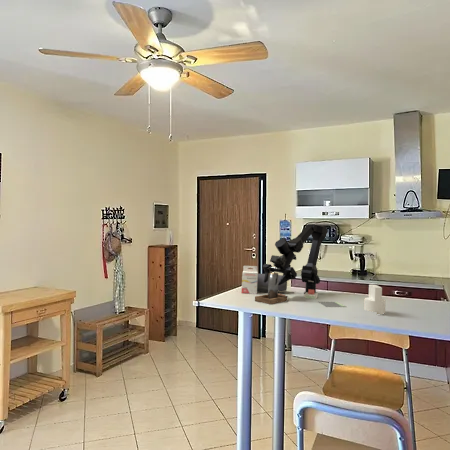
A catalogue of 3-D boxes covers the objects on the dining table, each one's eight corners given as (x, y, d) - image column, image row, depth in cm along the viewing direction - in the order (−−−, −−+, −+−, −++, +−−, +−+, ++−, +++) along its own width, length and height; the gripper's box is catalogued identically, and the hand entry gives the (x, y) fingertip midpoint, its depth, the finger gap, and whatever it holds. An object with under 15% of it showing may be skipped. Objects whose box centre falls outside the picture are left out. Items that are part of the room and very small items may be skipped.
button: (308, 293, 211) (308, 289, 211) (314, 293, 210) (314, 289, 210) (307, 294, 208) (307, 290, 208) (313, 294, 207) (313, 290, 207)
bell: (275, 298, 206) (276, 271, 206) (279, 299, 201) (279, 272, 201) (266, 298, 204) (267, 271, 204) (270, 300, 200) (270, 272, 200)
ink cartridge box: (241, 293, 221) (242, 266, 221) (241, 291, 226) (242, 265, 226) (257, 294, 220) (257, 267, 220) (257, 292, 225) (258, 266, 225)
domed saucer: (273, 294, 219) (274, 292, 219) (286, 295, 217) (286, 294, 217) (270, 296, 213) (270, 295, 213) (283, 298, 210) (283, 296, 210)
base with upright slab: (361, 310, 187) (362, 284, 187) (380, 310, 187) (381, 284, 187) (367, 314, 178) (368, 287, 178) (388, 315, 178) (389, 288, 178)
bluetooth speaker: (286, 291, 231) (287, 274, 231) (285, 294, 222) (286, 276, 222) (247, 288, 236) (248, 271, 236) (244, 291, 227) (245, 273, 227)
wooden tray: (272, 297, 210) (272, 293, 210) (287, 300, 203) (287, 296, 203) (254, 301, 201) (255, 296, 201) (269, 304, 194) (269, 299, 194)
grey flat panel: (317, 304, 198) (317, 301, 198) (337, 304, 199) (337, 301, 199) (326, 309, 186) (326, 306, 186) (347, 309, 187) (347, 306, 187)
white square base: (306, 298, 213) (306, 292, 213) (317, 299, 211) (317, 293, 210) (304, 300, 207) (304, 294, 207) (315, 301, 205) (316, 295, 205)
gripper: (265, 248, 212) (250, 270, 204) (294, 251, 198) (279, 275, 191) (274, 262, 218) (260, 284, 210) (303, 266, 204) (289, 290, 197)
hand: (271, 283), depth 202 cm, fingers open, 9 cm apart
